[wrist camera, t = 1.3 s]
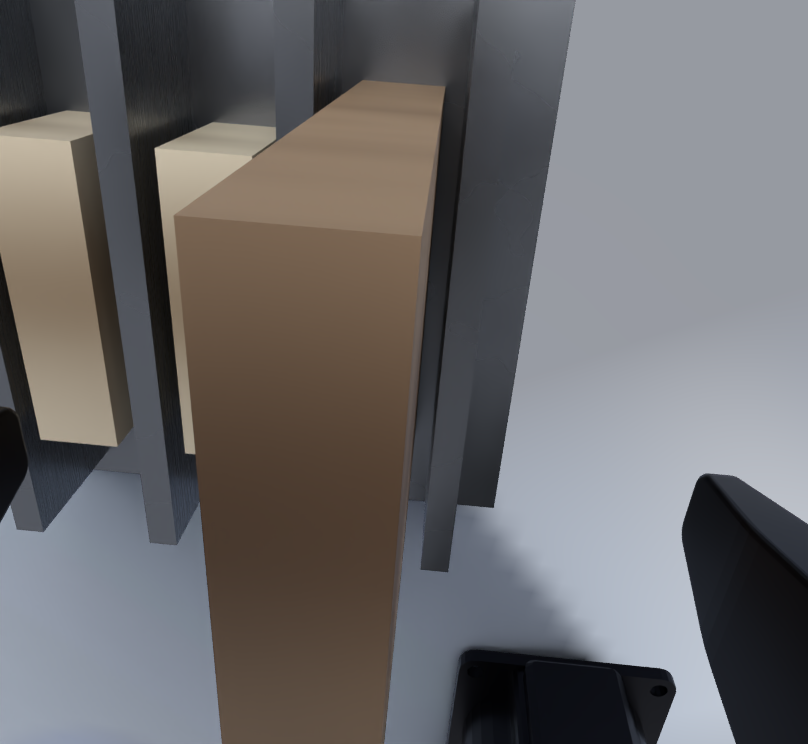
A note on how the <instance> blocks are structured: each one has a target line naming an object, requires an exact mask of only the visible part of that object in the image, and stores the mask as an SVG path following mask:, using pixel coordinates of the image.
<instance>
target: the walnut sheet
mask: <svg viewBox="0 0 808 744" xmlns="http://www.w3.org/2000/svg"><path fill="white" fill-rule="evenodd" d="M444 97H445V86H432V85H419V84H406V83H394V82H381V81H368V80H362V81H361V82H359V83H358V84H357V85H355V86H354V87H352V88H351V89H350V90H348V91H347V92H345V93H344V94H343V95H341V96H340V97H338V98H337V99H336V100H334V101H333V102H331V103H330V104H329V105H327V106H326V107H324V108H323V109H322V110H320V111H319V112H317V113H316V114H315V115H313V116H312V117H310V118H309V119H308V120H306V121H305V122H303V123H302V124H301V125H299V126H298V127H296V128H295V129H294V130H292V131H291V132H289V133H288V134H287V135H285V136H284V137H282V138H281V139H280V140H278V141H277V142H275V143H274V144H273V145H271V146H270V147H268V148H267V149H266V150H264V151H263V152H261V153H260V154H259V155H257V156H256V157H254V158H253V159H252V160H250V161H249V162H247V163H246V164H245V165H243V166H242V167H240V168H239V169H238V170H236V171H235V172H233V173H232V174H231V175H229V176H228V177H226V178H225V179H224V180H222V181H221V182H219V183H218V184H217V185H215V186H214V187H212V188H211V189H210V190H208V191H207V192H205V193H204V194H203V195H201V196H200V197H198V198H197V199H196V200H194V201H193V202H191V203H190V204H189V205H187V206H186V207H184V208H183V209H182V210H180V211H179V212H177V213H176V214H175V215H174V226H175V237H176V248H177V259H178V270H179V281H180V292H181V302H182V313H183V324H184V335H185V346H186V357H187V368H188V379H189V390H190V400H191V411H192V422H193V433H194V444H195V455H196V466H197V477H198V488H199V498H200V509H201V520H202V531H203V542H204V553H205V564H206V575H207V585H208V596H209V607H210V618H211V629H212V640H213V651H214V662H215V673H216V683H217V694H218V705H219V716H220V727H221V738H222V744H384V739H385V729H386V719H387V709H388V699H389V689H390V679H391V669H392V659H393V649H394V639H395V629H396V619H397V609H398V599H399V589H400V579H401V569H402V559H403V549H404V539H405V529H406V519H407V509H408V499H409V489H410V479H411V469H412V459H413V449H414V439H415V428H416V417H417V405H418V394H419V383H420V371H421V360H422V348H423V337H424V326H425V314H426V303H427V291H428V280H429V269H430V257H431V246H432V234H433V223H434V212H435V200H436V189H437V177H438V166H439V154H440V143H441V132H442V120H443V109H444Z"/></svg>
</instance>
